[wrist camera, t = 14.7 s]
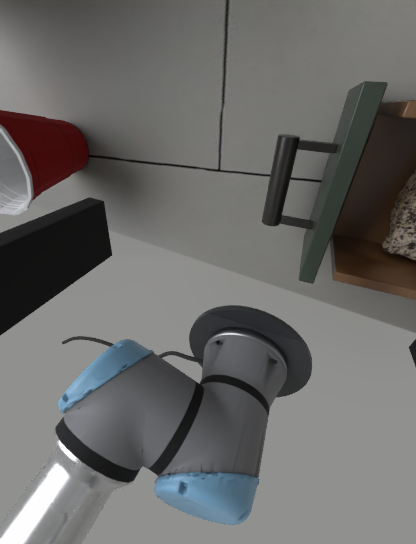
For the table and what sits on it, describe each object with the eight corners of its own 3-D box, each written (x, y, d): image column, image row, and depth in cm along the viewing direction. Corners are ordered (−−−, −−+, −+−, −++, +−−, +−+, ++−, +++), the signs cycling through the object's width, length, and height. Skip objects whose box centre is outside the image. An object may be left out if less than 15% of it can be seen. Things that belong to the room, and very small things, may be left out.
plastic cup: (95, 203, 37) (20, 236, 28) (36, 156, 37) (-62, 174, 27) (117, 136, 31) (27, 151, 21) (44, 77, 30) (-82, 64, 21)
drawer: (265, 229, 29) (248, 268, 22) (295, 86, 21) (282, 77, 15) (497, 276, 23) (570, 348, 17) (650, 104, 16) (903, 104, 9)
